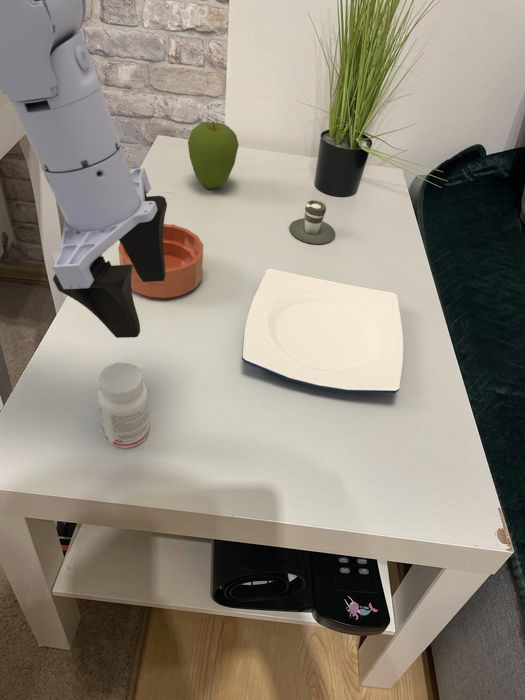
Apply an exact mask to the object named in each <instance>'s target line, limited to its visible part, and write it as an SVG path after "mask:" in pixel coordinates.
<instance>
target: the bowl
mask: <svg viewBox="0 0 525 700" xmlns="http://www.w3.org/2000/svg"><path fill="white" fill-rule="evenodd" d="M163 247H164V259H165V279H164V281H155V282H143V281H142V280H141V278H140V277H139V275H138V274H137V272H136V270H135V268H134V266H133V267H132V275H131V288H132V292H134V293H137V294H140V295H143V296H146V297H150V298H161V299H169V298H173V297H180V296H183V295H185V294H187V293H189V292H191V291H193V290H194V289H196V288H197V286H198V285H199V284H200V282H202V279H203V264H204V243H203V242H202V241H201V238H200V237H199V236H198V235H197V234H195V233H194V232H192V231H191V230H189V229H187V228H185V227H182V226H178V225H176V224H169V223H168V224H167V223H164V227H163ZM118 258H119V259H118V260H119V265H133V264H132V262H131V260H130V258H129V256H128V254H127V252H126V250H125V249H124V247H123V245H122V244H121V242H120V241H119V244H118Z"/></svg>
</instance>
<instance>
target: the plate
mask: <svg viewBox="0 0 525 700" xmlns="http://www.w3.org/2000/svg"><path fill="white" fill-rule="evenodd" d="M399 305H400V304H399V299H398V294H396V293H395V292H391V291H384V290H380V289H375V288H374V289H373V288H369V287H363V286H358V285H352V284H346V283H343V282H337V281H332V280H327V279H323V278H318V277H317V278H316V277H311V276H308V275H307V276H305V275H302V274H297V273H293V272H288V271H283V270H278V269H274V268H267V270H266V271H265V273H264V275H263V277H262V279H261V282H260V283H259V286H258V288H257V289H256V292H255V294H254V296H253V299H252V302H251V304H250V307H249V311H248V313H247V317H246V322H245V327H244V331H243V345H242V354H241V355H242V356H241V359H242V361H243V362H244V363H245V364H248V365H250V366H252V367H255V368H257V369H260V370H263V371H264V372H267V373H269V374H272V375H275V376H277V377H280V378H282V379H284V380H287V381H290V382H293V383H294V382H295V383H298V384H302V385H306V386H311V387H314V388H318V389H325V390H332V391H337V392H344V393H375V394H377V393H378V394H379V393H380V394H396V393H398V392H399V390H400V385H401V380H402V379H401V378H402V371H403V364H404V337H403V336H404V335H403V325H402V318H401V311H400V306H399Z"/></svg>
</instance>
